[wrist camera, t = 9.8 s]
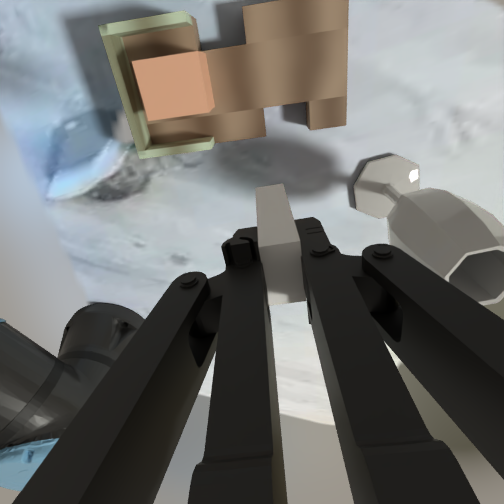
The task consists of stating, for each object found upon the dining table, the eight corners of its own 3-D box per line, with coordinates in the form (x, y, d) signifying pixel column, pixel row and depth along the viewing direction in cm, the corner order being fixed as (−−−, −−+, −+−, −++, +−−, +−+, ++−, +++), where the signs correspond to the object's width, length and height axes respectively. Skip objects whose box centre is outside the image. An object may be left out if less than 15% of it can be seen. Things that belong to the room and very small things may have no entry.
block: (161, 114, 35) (148, 121, 30) (148, 61, 32) (131, 61, 28) (214, 106, 34) (209, 112, 30) (205, 52, 32) (197, 50, 27)
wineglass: (407, 218, 44) (512, 324, 26) (345, 215, 44) (408, 319, 26) (428, 155, 40) (572, 230, 21) (359, 151, 39) (447, 223, 21)
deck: (155, 146, 39) (139, 159, 34) (122, 31, 33) (98, 25, 28) (339, 121, 38) (353, 130, 32) (341, -6, 32) (357, -20, 26)
